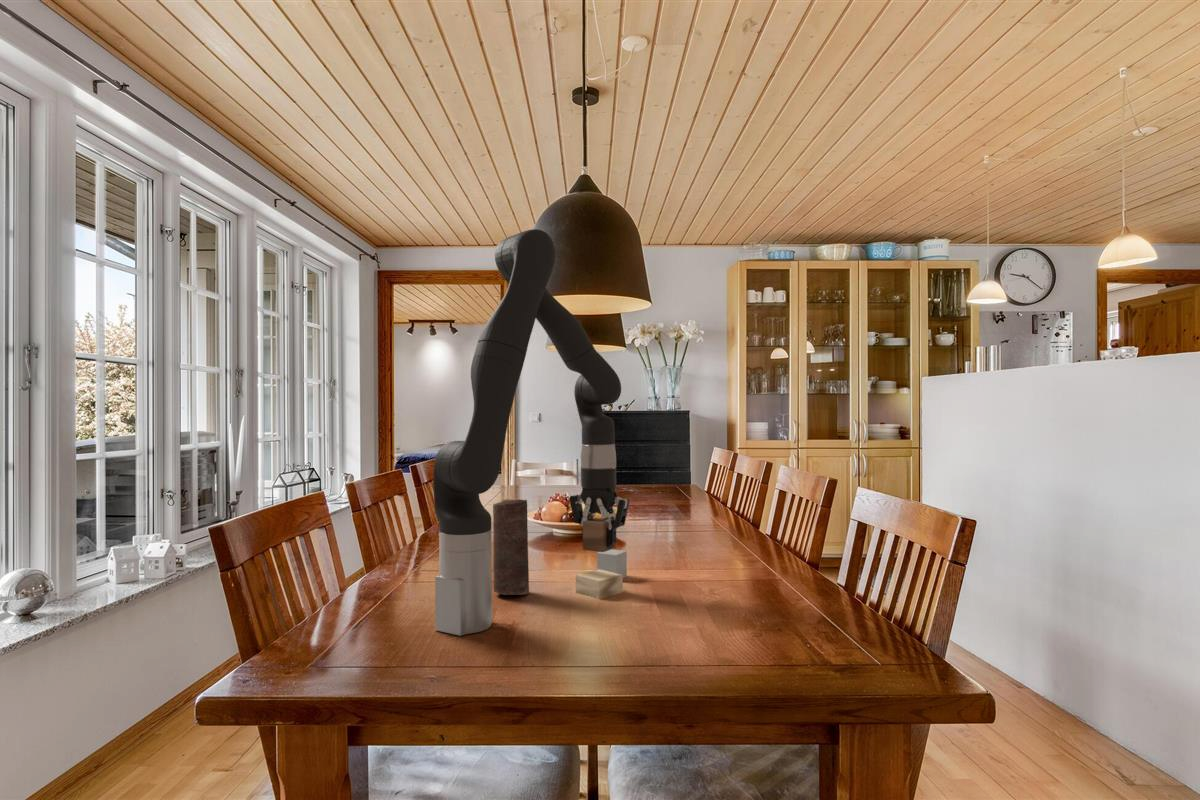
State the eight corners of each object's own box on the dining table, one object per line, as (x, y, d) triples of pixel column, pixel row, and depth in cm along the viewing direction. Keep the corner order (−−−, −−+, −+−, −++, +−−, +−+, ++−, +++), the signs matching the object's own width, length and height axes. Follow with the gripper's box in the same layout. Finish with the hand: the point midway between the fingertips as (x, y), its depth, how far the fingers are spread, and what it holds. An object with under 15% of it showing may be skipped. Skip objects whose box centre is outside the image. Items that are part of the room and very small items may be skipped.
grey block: (615, 581, 150) (615, 555, 150) (597, 578, 152) (596, 552, 152) (626, 577, 154) (626, 551, 154) (608, 574, 157) (608, 548, 157)
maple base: (599, 600, 136) (599, 581, 136) (575, 593, 141) (575, 574, 141) (622, 593, 141) (622, 574, 141) (599, 587, 146) (599, 569, 146)
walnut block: (603, 552, 138) (602, 523, 138) (583, 549, 140) (582, 521, 140) (615, 547, 142) (615, 519, 142) (595, 545, 144) (595, 517, 145)
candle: (510, 602, 134) (510, 503, 134) (485, 596, 139) (485, 500, 139) (536, 593, 140) (535, 498, 140) (511, 588, 145) (511, 496, 145)
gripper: (560, 465, 142) (561, 545, 142) (618, 468, 134) (619, 552, 134) (580, 462, 148) (580, 539, 148) (636, 465, 141) (637, 545, 140)
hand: (599, 545), depth 141 cm, fingers closed on walnut block, 5 cm apart
